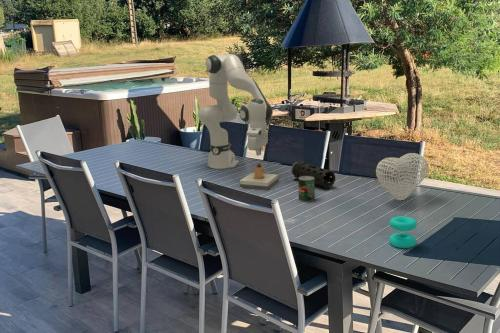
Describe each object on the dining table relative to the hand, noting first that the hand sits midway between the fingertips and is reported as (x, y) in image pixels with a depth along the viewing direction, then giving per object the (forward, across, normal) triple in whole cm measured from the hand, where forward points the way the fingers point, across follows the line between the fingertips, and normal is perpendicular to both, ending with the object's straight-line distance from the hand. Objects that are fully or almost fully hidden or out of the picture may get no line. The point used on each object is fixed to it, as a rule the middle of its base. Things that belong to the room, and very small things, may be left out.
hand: (258, 155), depth 283 cm
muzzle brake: (+17, -10, +27) cm, 33 cm away
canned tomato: (+17, +18, +32) cm, 40 cm away
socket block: (+17, 0, 0) cm, 17 cm away
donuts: (+17, +62, +83) cm, 105 cm away
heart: (+17, +7, +76) cm, 78 cm away
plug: (+15, 0, 0) cm, 15 cm away
